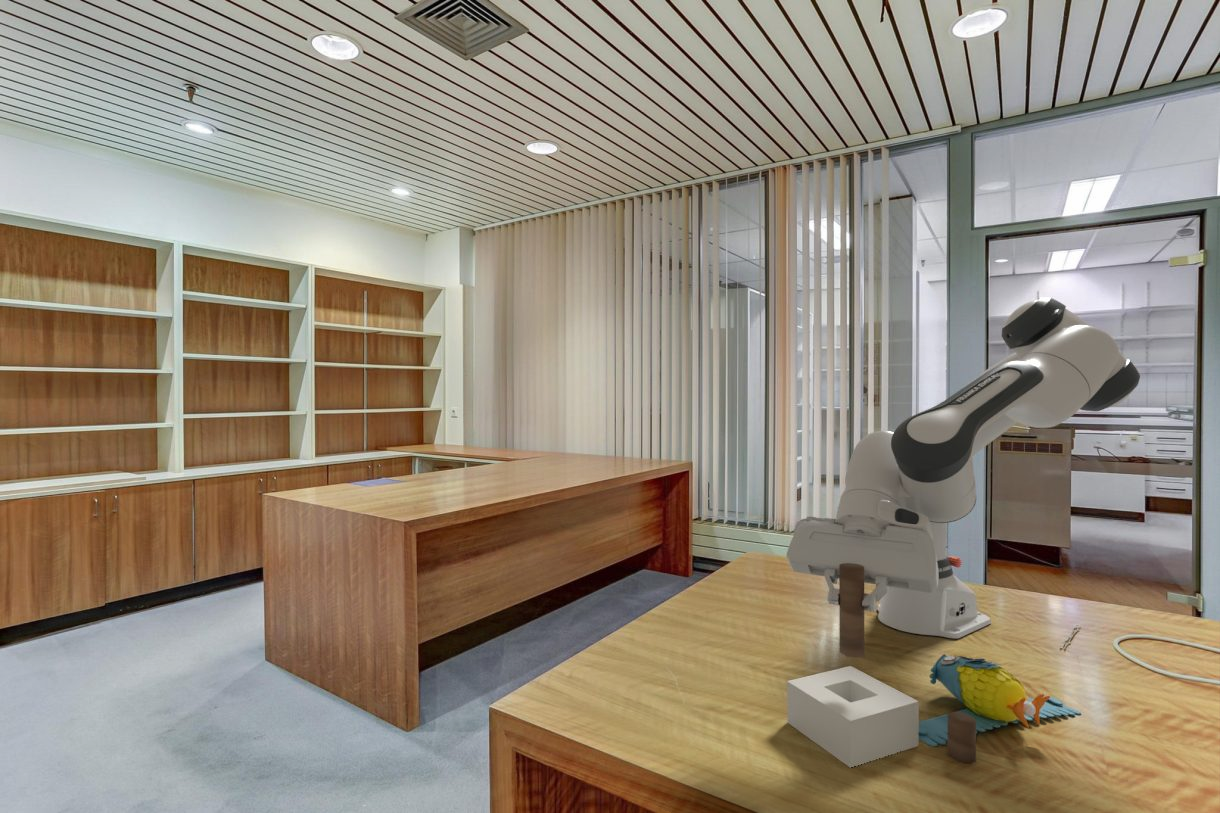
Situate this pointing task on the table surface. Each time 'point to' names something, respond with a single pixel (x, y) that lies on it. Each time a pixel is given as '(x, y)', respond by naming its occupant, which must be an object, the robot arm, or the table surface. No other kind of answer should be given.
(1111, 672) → the table surface
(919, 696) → the table surface
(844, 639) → the long pin
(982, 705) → the blue yellow bird figure
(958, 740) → the short pin
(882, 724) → the hole block
